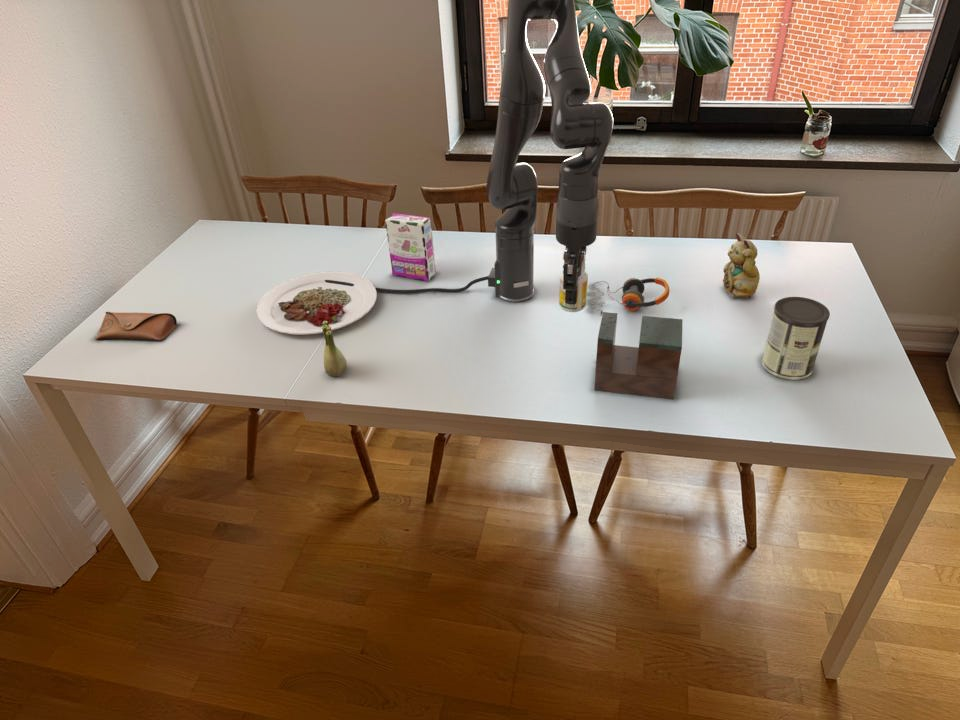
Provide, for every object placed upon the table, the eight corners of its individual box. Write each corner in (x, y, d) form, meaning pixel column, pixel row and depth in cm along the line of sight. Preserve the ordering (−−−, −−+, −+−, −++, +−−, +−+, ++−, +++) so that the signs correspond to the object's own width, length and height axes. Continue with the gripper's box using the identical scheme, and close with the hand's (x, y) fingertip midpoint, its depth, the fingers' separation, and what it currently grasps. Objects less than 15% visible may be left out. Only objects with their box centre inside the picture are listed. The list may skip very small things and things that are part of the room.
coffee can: (792, 347, 151) (807, 292, 143) (823, 374, 143) (841, 317, 135) (751, 357, 149) (764, 301, 141) (780, 384, 141) (796, 327, 133)
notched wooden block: (594, 390, 142) (597, 338, 134) (599, 362, 150) (602, 311, 142) (673, 399, 139) (682, 346, 131) (674, 370, 146) (682, 319, 139)
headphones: (587, 274, 176) (667, 262, 170) (591, 291, 179) (670, 281, 173) (582, 308, 163) (668, 297, 157) (586, 327, 166) (671, 317, 159)
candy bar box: (436, 273, 186) (431, 217, 176) (428, 282, 182) (423, 225, 172) (400, 267, 189) (393, 212, 180) (391, 275, 186) (384, 219, 176)
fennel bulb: (330, 363, 154) (320, 318, 147) (351, 364, 153) (342, 319, 146) (322, 379, 149) (312, 333, 142) (344, 380, 149) (335, 334, 142)
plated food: (320, 267, 191) (318, 257, 189) (401, 296, 177) (400, 284, 175) (233, 317, 172) (229, 305, 170) (316, 353, 157) (313, 341, 155)
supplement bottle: (566, 315, 135) (568, 272, 129) (554, 302, 139) (555, 260, 133) (590, 309, 136) (593, 266, 130) (577, 296, 140) (580, 254, 134)
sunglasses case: (91, 339, 165) (90, 312, 165) (109, 338, 172) (108, 311, 172) (162, 340, 164) (161, 312, 163) (178, 339, 171) (177, 312, 170)
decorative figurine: (714, 285, 174) (724, 230, 165) (744, 280, 176) (755, 226, 167) (734, 304, 167) (745, 248, 158) (765, 298, 168) (778, 243, 159)
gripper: (562, 199, 132) (559, 276, 142) (550, 231, 121) (548, 312, 131) (601, 201, 131) (596, 279, 141) (592, 235, 119) (587, 316, 129)
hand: (573, 295), depth 136 cm, fingers closed on supplement bottle, 5 cm apart
